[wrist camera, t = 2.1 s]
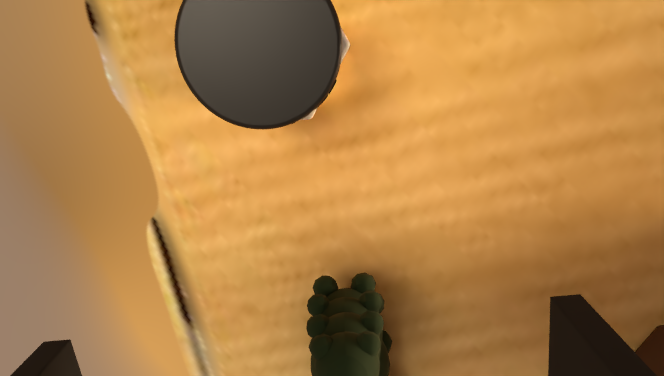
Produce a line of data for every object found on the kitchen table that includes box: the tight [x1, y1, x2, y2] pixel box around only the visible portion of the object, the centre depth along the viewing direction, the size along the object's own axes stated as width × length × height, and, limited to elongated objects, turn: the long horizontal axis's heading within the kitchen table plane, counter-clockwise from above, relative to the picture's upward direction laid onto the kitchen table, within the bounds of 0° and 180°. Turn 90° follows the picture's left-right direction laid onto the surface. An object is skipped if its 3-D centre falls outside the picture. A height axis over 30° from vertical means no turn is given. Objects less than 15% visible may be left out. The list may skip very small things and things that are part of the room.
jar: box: [175, 0, 350, 129], centre depth 28 cm, size 9×8×12 cm
